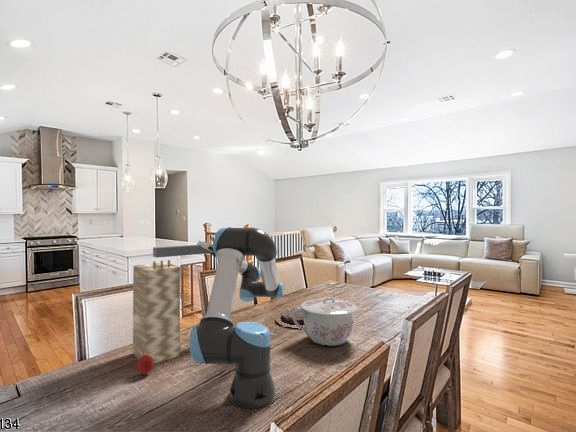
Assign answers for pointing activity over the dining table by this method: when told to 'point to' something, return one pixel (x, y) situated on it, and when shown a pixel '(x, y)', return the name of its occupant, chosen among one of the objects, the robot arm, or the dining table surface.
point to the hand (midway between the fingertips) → (200, 243)
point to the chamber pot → (327, 320)
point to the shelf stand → (156, 311)
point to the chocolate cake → (287, 317)
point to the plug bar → (179, 250)
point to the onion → (145, 364)
